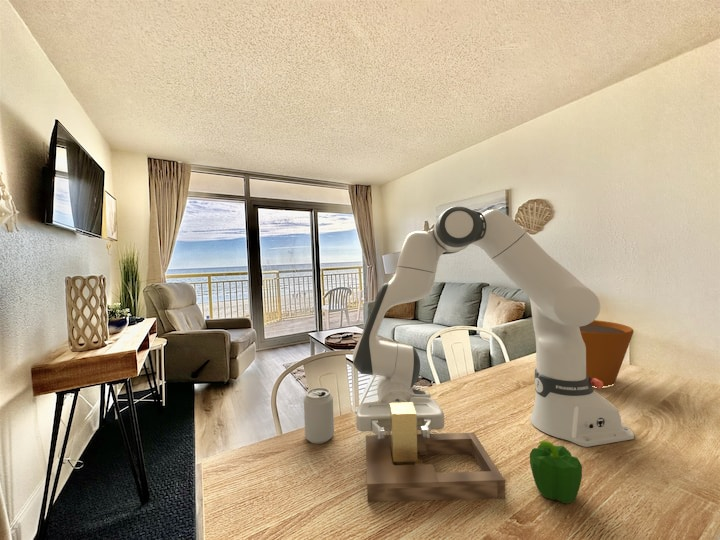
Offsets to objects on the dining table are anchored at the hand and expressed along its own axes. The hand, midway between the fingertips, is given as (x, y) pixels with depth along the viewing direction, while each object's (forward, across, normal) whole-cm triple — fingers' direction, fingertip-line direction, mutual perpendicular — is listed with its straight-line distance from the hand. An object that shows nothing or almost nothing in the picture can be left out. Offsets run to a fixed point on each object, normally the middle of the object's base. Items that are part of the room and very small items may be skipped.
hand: (403, 435), depth 65 cm
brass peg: (-1, 0, +8) cm, 9 cm away
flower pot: (-46, +73, +9) cm, 87 cm away
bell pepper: (+6, +28, +9) cm, 30 cm away
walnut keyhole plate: (-1, +5, +8) cm, 10 cm away
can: (-15, -20, +9) cm, 26 cm away
